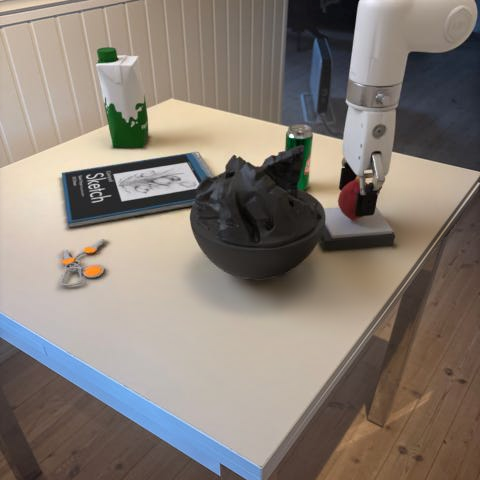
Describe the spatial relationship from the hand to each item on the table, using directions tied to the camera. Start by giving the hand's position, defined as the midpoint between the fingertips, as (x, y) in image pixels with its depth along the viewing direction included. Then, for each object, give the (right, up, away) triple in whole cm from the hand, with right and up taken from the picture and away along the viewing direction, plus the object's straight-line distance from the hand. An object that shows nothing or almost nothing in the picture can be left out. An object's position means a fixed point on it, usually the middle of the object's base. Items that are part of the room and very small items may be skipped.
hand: (355, 201), depth 82 cm
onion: (0, -3, +2) cm, 4 cm away
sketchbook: (-39, +6, +17) cm, 44 cm away
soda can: (-8, +7, +17) cm, 20 cm away
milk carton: (-46, +23, +35) cm, 62 cm away
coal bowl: (-17, -12, -3) cm, 21 cm away
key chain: (-45, -11, -2) cm, 47 cm away
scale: (0, -5, +4) cm, 6 cm away
